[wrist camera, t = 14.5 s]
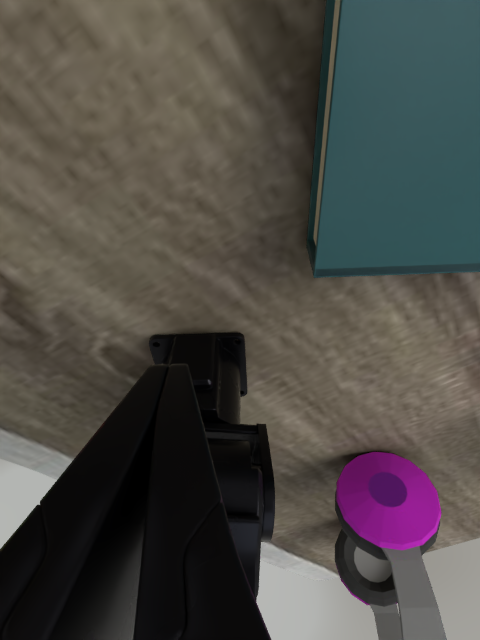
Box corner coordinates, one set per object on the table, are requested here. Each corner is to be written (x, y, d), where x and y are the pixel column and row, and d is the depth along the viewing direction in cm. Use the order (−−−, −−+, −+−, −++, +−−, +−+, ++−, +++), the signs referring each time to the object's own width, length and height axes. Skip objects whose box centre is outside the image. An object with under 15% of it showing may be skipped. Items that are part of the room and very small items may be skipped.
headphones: (398, 525, 48) (469, 770, 33) (328, 529, 49) (366, 768, 34) (423, 439, 34) (564, 788, 19) (326, 447, 35) (389, 785, 20)
